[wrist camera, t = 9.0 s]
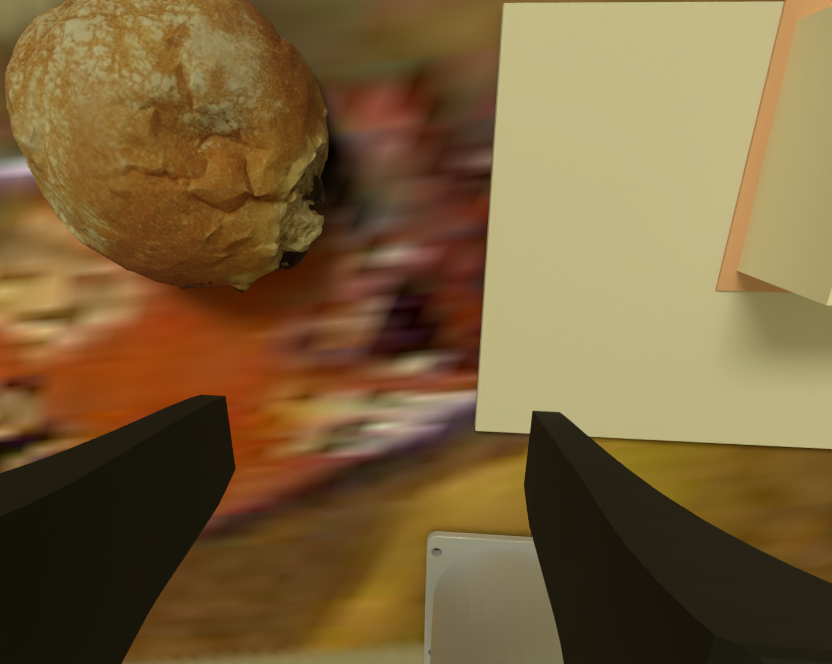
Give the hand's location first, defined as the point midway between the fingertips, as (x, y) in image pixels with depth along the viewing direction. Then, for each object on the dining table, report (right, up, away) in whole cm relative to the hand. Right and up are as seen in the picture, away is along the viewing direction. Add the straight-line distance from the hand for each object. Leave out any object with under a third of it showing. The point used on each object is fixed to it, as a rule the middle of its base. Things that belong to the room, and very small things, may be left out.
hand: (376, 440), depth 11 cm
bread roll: (-7, +10, +8) cm, 14 cm away
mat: (+12, +6, +7) cm, 15 cm away
